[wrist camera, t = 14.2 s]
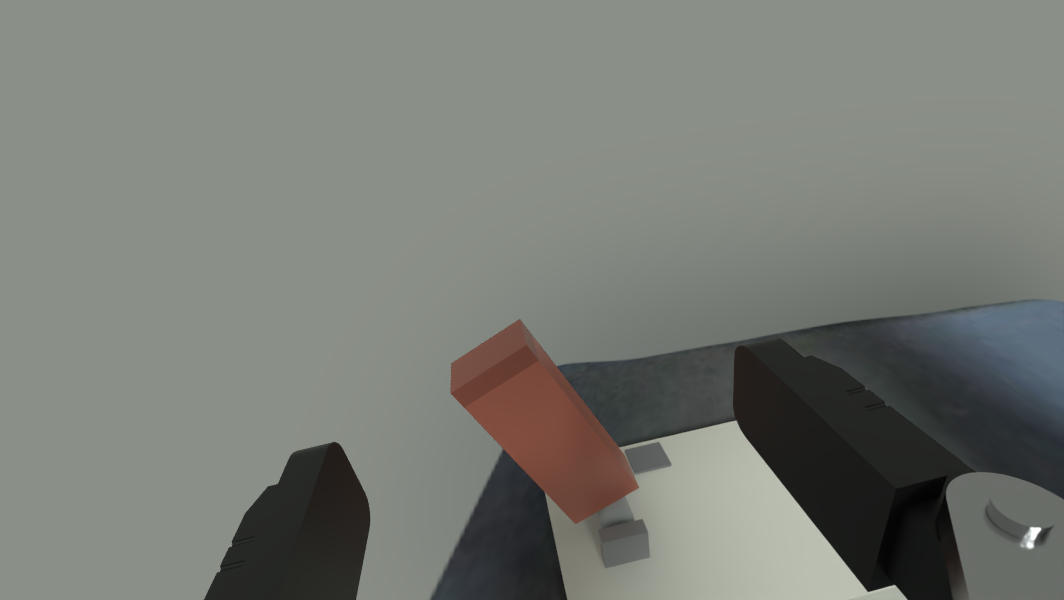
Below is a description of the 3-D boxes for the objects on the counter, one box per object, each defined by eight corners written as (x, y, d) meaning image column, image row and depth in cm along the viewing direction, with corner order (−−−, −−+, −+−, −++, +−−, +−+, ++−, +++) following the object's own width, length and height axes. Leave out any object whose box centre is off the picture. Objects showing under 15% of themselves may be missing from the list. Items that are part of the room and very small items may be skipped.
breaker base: (783, 425, 33) (787, 386, 31) (941, 593, 22) (960, 545, 20) (542, 481, 32) (534, 443, 30) (585, 686, 21) (576, 643, 19)
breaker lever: (636, 468, 28) (518, 315, 22) (657, 513, 25) (527, 349, 19) (580, 501, 28) (451, 359, 23) (594, 548, 25) (450, 398, 20)
